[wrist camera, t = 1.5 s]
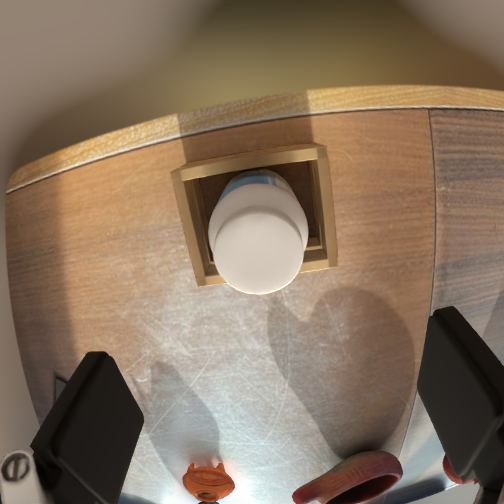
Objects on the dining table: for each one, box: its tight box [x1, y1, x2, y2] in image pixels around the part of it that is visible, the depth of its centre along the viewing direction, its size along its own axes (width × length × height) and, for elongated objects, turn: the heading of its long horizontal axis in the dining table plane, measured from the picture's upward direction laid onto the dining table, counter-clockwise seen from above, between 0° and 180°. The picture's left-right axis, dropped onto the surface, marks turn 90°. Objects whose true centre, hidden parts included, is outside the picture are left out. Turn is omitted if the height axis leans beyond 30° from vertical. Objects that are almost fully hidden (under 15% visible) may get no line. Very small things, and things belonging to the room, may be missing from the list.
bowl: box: [292, 451, 403, 504], centre depth 38 cm, size 16×13×8 cm
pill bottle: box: [208, 168, 308, 294], centre depth 22 cm, size 6×6×11 cm
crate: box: [170, 143, 338, 287], centre depth 25 cm, size 11×9×5 cm
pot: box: [183, 463, 235, 502], centre depth 40 cm, size 8×8×7 cm
